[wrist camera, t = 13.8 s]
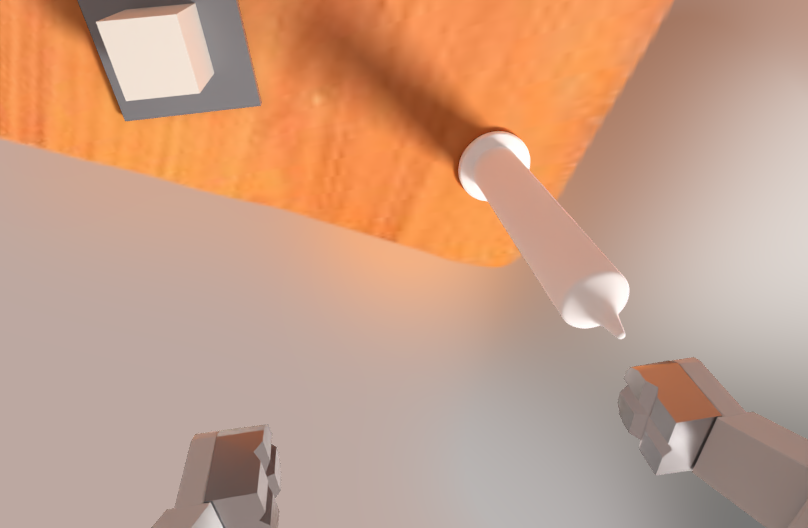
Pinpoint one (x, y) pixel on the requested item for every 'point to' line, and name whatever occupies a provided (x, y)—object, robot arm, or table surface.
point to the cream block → (157, 51)
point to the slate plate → (226, 52)
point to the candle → (545, 233)
